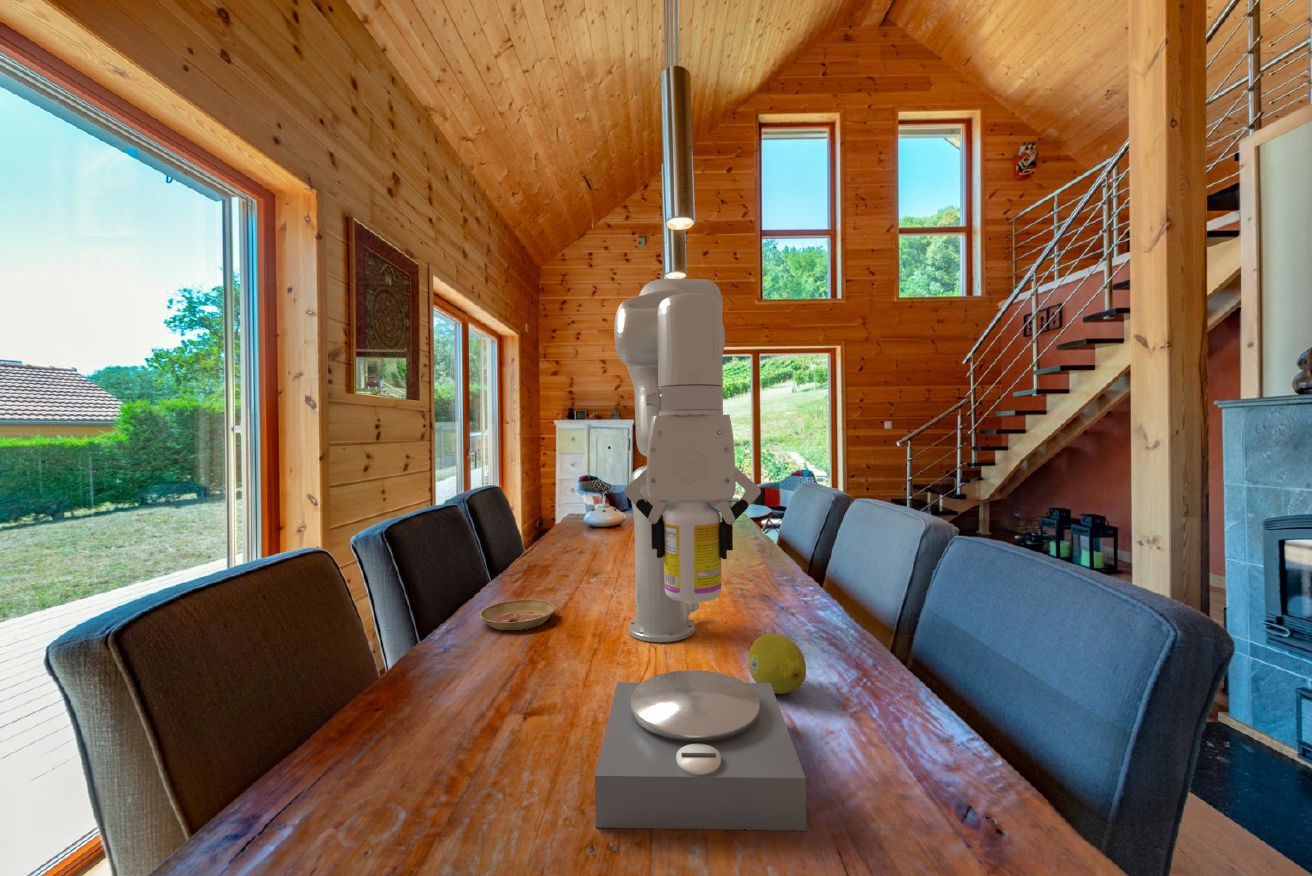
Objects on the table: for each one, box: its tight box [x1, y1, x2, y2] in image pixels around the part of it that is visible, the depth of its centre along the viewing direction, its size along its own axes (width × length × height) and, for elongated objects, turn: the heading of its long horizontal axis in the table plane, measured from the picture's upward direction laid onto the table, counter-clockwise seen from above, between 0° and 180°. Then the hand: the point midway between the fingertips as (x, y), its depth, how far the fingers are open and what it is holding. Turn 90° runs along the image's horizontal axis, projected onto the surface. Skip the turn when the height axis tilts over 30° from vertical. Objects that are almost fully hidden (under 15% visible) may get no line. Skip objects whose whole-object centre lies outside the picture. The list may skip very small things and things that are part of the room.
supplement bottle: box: [664, 502, 722, 603], centre depth 65 cm, size 7×7×13 cm
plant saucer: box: [479, 598, 556, 631], centre depth 113 cm, size 15×15×3 cm
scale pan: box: [631, 669, 760, 741], centre depth 66 cm, size 15×15×1 cm
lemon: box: [747, 632, 807, 695], centre depth 81 cm, size 11×8×8 cm
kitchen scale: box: [594, 681, 807, 832], centre depth 63 cm, size 20×20×6 cm
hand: (692, 554), depth 66 cm, fingers closed on supplement bottle, 6 cm apart
